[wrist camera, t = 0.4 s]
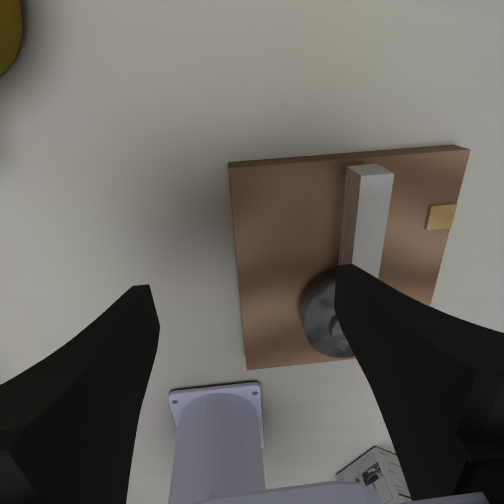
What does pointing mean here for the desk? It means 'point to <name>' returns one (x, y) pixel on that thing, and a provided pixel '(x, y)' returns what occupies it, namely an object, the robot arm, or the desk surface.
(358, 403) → the desk surface
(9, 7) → the mug
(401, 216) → the base
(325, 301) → the grey lever handle
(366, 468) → the light bulb box
